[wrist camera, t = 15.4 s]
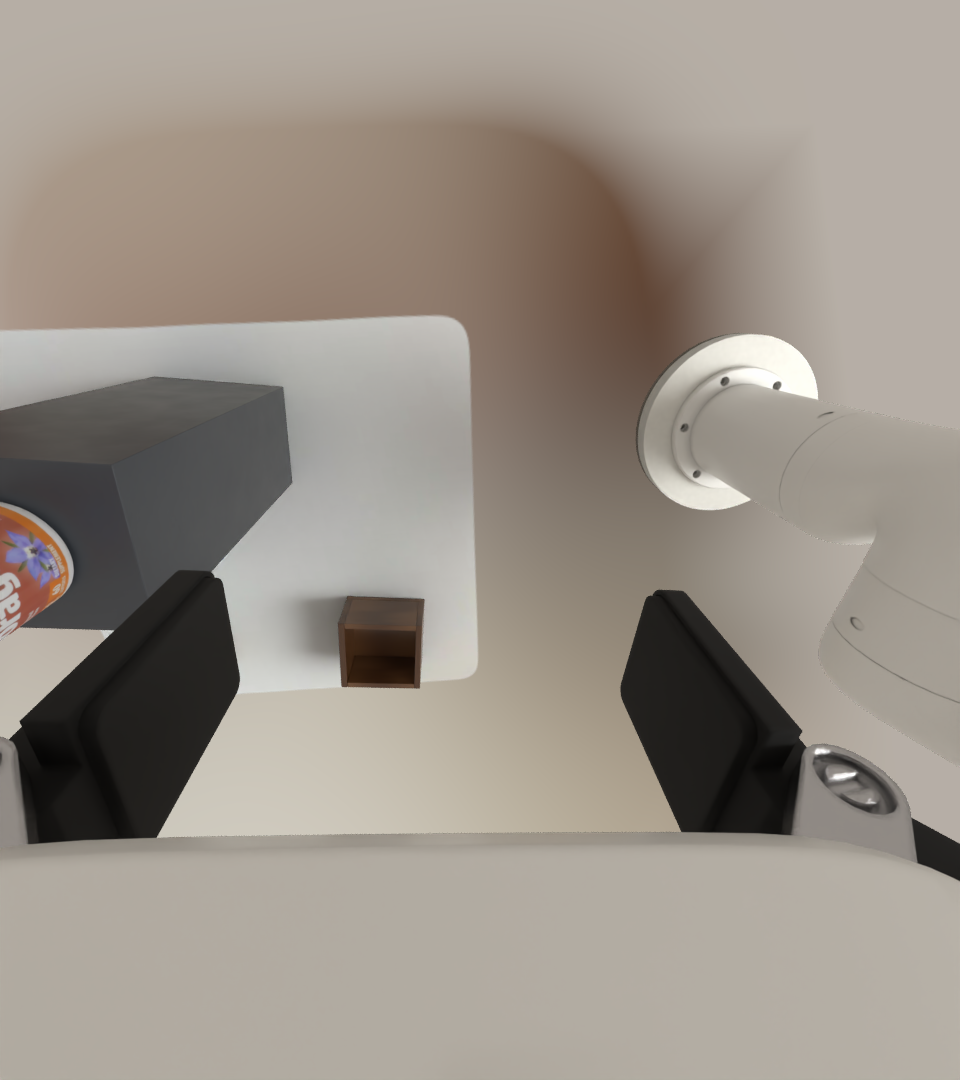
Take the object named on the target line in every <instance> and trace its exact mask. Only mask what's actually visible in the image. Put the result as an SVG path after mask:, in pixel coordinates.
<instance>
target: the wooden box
mask: <svg viewBox="0 0 960 1080" xmlns="http://www.w3.org/2000/svg"><path fill="white" fill-rule="evenodd" d="M423 622H424V599H404V598H378V597H352V596H348V597H347V600H346V602H345V605H344V608H343V611H342V614H341V617H340V619H339V622H338V634H339V651H340V668H341V685H342V687H347V686H348V687H371V688H420V679H421V665H422V647H423Z"/></svg>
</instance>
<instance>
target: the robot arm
mask: <svg viewBox="0 0 960 1080" xmlns="http://www.w3.org/2000/svg"><path fill="white" fill-rule="evenodd" d="M721 379H722V381H721ZM682 425H683V426H682ZM681 426H682V428H681ZM671 445H672V453H673V456H674V460H675V462H676V464H677V466H678V467H679V469H680V470H681V471H682V472H683V474H684V475H685V476H686V477H688V478H689V479H690V480H692V481H693V482H695V483H697V484H699V485H701V486H704V487H708V488H714V489H725V488H734V489H735V490H737V491H738V492H740V493H742V494H743V495H745V496H747V497H748V498H750V499H751V500H753V501H755V502H757V503H758V504H760V505H761V506H763V507H765V508H766V509H768V510H769V511H771V512H773V513H774V514H776V515H777V516H779V517H781V518H782V519H784V520H785V521H787V522H789V523H790V524H792V525H794V526H795V527H797V528H799V529H800V530H802V531H804V532H805V533H807V534H809V535H811V536H813V537H815V538H818V539H821V540H824V541H827V542H832V543H839V544H871V543H872V545H871V547H870V549H869V551H868V553H867V554H866V556H865V558H864V560H863V564H862V565H861V567H860V569H859V570H858V572H857V574H856V576H855V577H854V579H853V581H852V582H851V584H850V586H849V587H848V589H847V591H846V593H845V595H844V596H843V598H842V599H841V601H840V603H839V605H838V606H837V608H836V610H835V611H834V613H833V616H832V617H831V619H830V621H829V623H828V624H827V627H826V628H825V630H824V633H823V635H822V637H821V640H820V644H819V650H818V656H819V661H820V665H821V667H822V669H823V671H824V673H825V674H826V676H827V677H828V678H829V679H830V681H831V682H832V683H833V684H834V685H835V686H836V687H837V688H838V689H839V690H840V691H841V692H842V693H843V694H844V695H846V696H847V697H848V698H849V699H851V700H852V701H853V702H855V703H856V704H857V705H859V706H860V707H862V708H863V709H864V710H866V711H867V712H869V713H870V714H872V715H873V716H875V717H876V718H878V719H880V720H881V721H883V722H884V723H886V724H888V725H889V726H891V727H893V728H894V729H896V730H897V731H899V732H901V733H902V734H904V735H906V736H907V737H909V738H911V739H912V740H914V741H916V742H917V743H919V744H921V745H922V746H924V747H926V748H927V749H929V750H931V751H932V752H934V753H936V754H937V755H940V756H941V757H943V758H944V759H946V760H948V761H949V762H951V763H953V764H955V765H956V766H958V767H959V768H960V429H954V428H946V427H941V426H935V425H930V424H925V423H920V422H914V421H909V420H904V419H900V418H895V417H891V416H887V415H882V414H878V413H872V412H868V411H864V410H860V409H856V408H851V407H847V406H843V405H839V404H834V403H830V402H826V401H822V400H818V399H813V398H809V397H805V396H801V395H796V394H792V392H791V389H790V388H789V386H788V385H787V384H786V382H785V381H784V380H783V379H782V378H781V377H779V376H778V375H777V374H775V373H773V372H771V371H769V370H767V369H763V368H758V367H749V366H742V367H734V368H730V369H727V370H724V371H721V372H719V373H717V374H715V375H713V376H711V377H710V378H708V379H707V380H705V381H704V382H703V383H701V384H700V385H699V386H698V387H697V388H696V389H695V390H694V391H693V392H692V393H691V394H690V395H689V396H688V398H687V399H686V401H685V402H684V403H683V405H682V406H681V408H680V410H679V412H678V414H677V416H676V419H675V422H674V426H673V430H672V437H671ZM694 471H695V472H694ZM693 472H694V473H693ZM239 683H240V675H239V669H238V664H237V658H236V653H235V647H234V642H233V636H232V631H231V625H230V620H229V614H228V609H227V603H226V598H225V593H224V587H223V583H222V581H221V579H219V578H214V575H213V574H212V572H210V571H198V570H178V571H177V572H175V573H174V574H173V575H172V576H171V577H170V578H169V579H168V580H167V581H166V582H165V583H164V584H163V585H162V586H161V587H160V588H159V589H158V590H156V591H155V592H154V593H153V594H152V595H151V596H150V597H149V598H148V599H147V600H146V601H145V602H144V603H143V604H142V605H141V606H140V607H139V608H138V609H137V610H136V611H134V612H133V613H132V614H131V615H130V616H129V617H128V618H127V619H126V620H125V621H124V622H123V623H122V624H121V625H120V626H119V627H118V628H117V629H116V630H115V631H114V632H113V633H111V634H110V635H109V636H108V637H107V638H106V639H105V640H104V641H103V642H102V643H101V644H100V645H99V646H98V647H97V648H96V649H95V650H94V651H93V652H92V653H91V654H90V655H88V656H87V657H86V658H85V659H84V660H83V661H82V662H81V663H80V664H79V665H78V666H77V667H76V668H75V669H74V670H73V671H72V672H71V673H70V674H69V675H68V676H67V677H65V678H64V679H63V680H62V681H61V682H60V683H59V684H58V685H57V686H56V687H55V688H54V689H53V690H52V691H51V692H50V693H49V694H48V695H47V696H46V697H45V698H44V699H43V700H41V701H40V702H39V703H38V704H37V705H36V706H35V707H34V708H33V709H32V710H31V711H30V712H29V713H28V714H27V715H26V716H25V717H24V718H23V719H22V720H20V724H21V725H22V727H21V728H20V729H19V730H18V731H17V732H16V733H15V734H14V735H13V736H12V737H11V738H10V739H9V740H8V739H6V738H4V737H0V1080H960V844H959V843H957V842H955V841H954V840H952V839H950V838H948V837H946V836H944V835H942V834H940V833H939V832H937V831H935V830H933V829H931V828H929V827H928V826H926V825H924V824H922V823H920V822H918V821H917V820H915V819H913V818H911V812H910V807H909V804H908V802H907V799H906V797H905V795H904V793H903V792H902V791H901V789H900V788H899V786H898V785H897V784H896V783H895V782H894V781H893V780H892V779H891V778H890V777H889V776H888V775H887V774H886V773H885V772H884V771H882V770H881V769H880V768H878V767H877V766H876V765H874V764H873V763H871V762H870V761H868V760H867V759H865V758H863V757H861V756H859V755H857V754H856V753H854V752H851V751H849V750H846V749H844V748H841V747H838V746H834V745H828V744H814V745H811V746H809V747H806V746H805V745H804V744H803V742H802V741H801V740H800V739H799V736H800V734H801V733H802V730H801V729H800V728H799V726H798V725H797V724H796V723H795V722H794V721H793V719H792V718H791V717H790V716H789V715H788V713H787V712H786V711H785V710H784V709H783V708H782V707H781V705H780V704H779V703H778V702H777V700H776V699H775V698H774V697H773V696H772V695H771V693H770V692H769V691H768V690H767V689H766V687H765V686H764V685H763V684H762V683H761V682H760V680H759V679H758V678H757V677H756V676H755V674H754V673H753V672H752V671H751V670H750V669H749V667H748V666H747V665H746V664H745V663H744V661H743V660H742V659H741V658H740V657H739V656H738V654H737V653H736V652H735V651H734V650H733V648H732V647H731V646H730V645H729V644H728V643H727V641H726V640H725V639H724V638H723V637H722V635H721V634H720V633H719V632H718V631H717V630H716V628H715V627H714V626H713V625H712V624H711V622H710V621H709V620H708V619H707V618H706V616H704V614H703V613H702V612H701V611H700V609H699V608H698V607H697V606H696V605H695V604H694V602H693V601H692V600H691V599H690V598H689V597H688V595H687V594H686V593H684V592H683V591H675V590H657V591H655V592H654V594H653V596H648V597H647V598H646V600H645V603H644V606H643V610H642V613H641V617H640V620H639V624H638V627H637V631H636V634H635V637H634V641H633V645H632V648H631V651H630V655H629V659H628V662H627V665H626V669H625V672H624V675H623V680H622V682H621V697H622V700H623V703H624V705H625V707H626V709H627V712H628V714H629V716H630V718H631V720H632V723H633V725H634V727H635V730H636V732H637V734H638V736H639V738H640V741H641V743H642V745H643V747H644V750H645V752H646V754H647V756H648V758H649V761H650V763H651V765H652V767H653V769H654V772H655V774H656V776H657V779H658V780H659V783H660V785H661V787H662V790H663V792H664V794H665V796H666V799H667V801H668V803H669V805H670V807H671V809H672V812H673V814H674V816H675V819H676V820H677V823H678V825H679V828H680V830H681V832H600V833H599V832H598V833H597V832H591V833H589V832H583V833H581V832H580V833H579V832H577V833H576V832H573V833H572V832H569V833H567V832H566V833H433V834H343V835H279V836H278V835H277V836H217V837H216V836H212V837H169V838H157V836H158V834H159V832H160V830H161V829H162V827H163V825H164V823H165V821H166V820H167V818H168V816H169V814H170V812H171V811H172V809H173V807H174V805H175V803H176V801H177V800H178V798H179V796H180V794H181V792H182V791H183V789H184V787H185V785H186V783H187V782H188V780H189V778H190V776H191V774H192V773H193V771H194V769H195V767H196V765H197V764H198V762H199V760H200V758H201V756H202V755H203V753H204V751H205V749H206V747H207V746H208V744H209V742H210V740H211V738H212V737H213V735H214V733H215V731H216V729H217V728H218V726H219V724H220V722H221V720H222V718H223V717H224V715H225V713H226V711H227V709H228V708H229V706H230V704H231V702H232V700H233V699H234V697H235V695H236V693H237V691H238V688H239Z"/></svg>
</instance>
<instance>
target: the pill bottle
mask: <svg viewBox="0 0 960 1080" xmlns="http://www.w3.org/2000/svg"><path fill="white" fill-rule="evenodd" d="M73 574H74V567H73V560H72V557H71V554H70V552H69V550H68V548H67V546H66V545H65V543H64V542H63V540H62V539H61V538H60V536H59V535H58V534H57V533H56V532H55V531H54V530H53V529H52V528H51V527H50V526H49V525H48V524H47V523H45V522H44V521H43V520H41V519H40V518H39V517H37V516H36V515H34V514H32V513H31V512H29V511H27V510H24V509H22V508H20V507H17V506H14V505H11V504H7V503H3V502H0V641H1V640H2V639H4V638H5V637H7V636H8V635H9V634H11V633H12V632H14V631H15V630H16V629H18V628H19V627H20V626H22V625H23V624H25V623H26V622H27V621H29V620H30V619H31V618H33V617H34V616H36V615H37V614H38V613H40V612H41V611H43V610H44V609H45V608H47V607H48V606H50V605H51V604H52V603H54V602H55V601H56V600H58V599H59V598H60V597H61V596H62V595H63V594H64V593H65V592H66V591H67V590H68V588H69V587H70V585H71V583H72V580H73Z"/></svg>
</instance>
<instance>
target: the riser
mask: <svg viewBox="0 0 960 1080" xmlns="http://www.w3.org/2000/svg"><path fill="white" fill-rule="evenodd" d="M291 483H292V476H291V465H290V455H289V445H288V434H287V424H286V413H285V403H284V392H283V387H279V386H266V385H253V384H241V383H228V382H215V381H203V380H190V379H177V378H165V377H151V378H147V379H142V380H138V381H133V382H128V383H124V384H119V385H115V386H110V387H106V388H101V389H97V390H92V391H88V392H83V393H79V394H74V395H70V396H65V397H61V398H56V399H52V400H47V401H42V402H38V403H33V404H29V405H24V406H20V407H15V408H11V409H6V410H2V411H0V502H3V503H7V504H11V505H14V506H17V507H20V508H22V509H24V510H27V511H29V512H31V513H32V514H34V515H36V516H37V517H39V518H40V519H41V520H43V521H44V522H45V523H47V524H48V525H49V526H50V527H51V528H52V529H53V530H54V531H55V532H56V533H57V534H58V535H59V536H60V538H61V539H62V540H63V542H64V543H65V545H66V546H67V548H68V550H69V552H70V554H71V557H72V560H73V567H74V574H73V580H72V583H71V585H70V587H69V588H68V590H67V591H66V592H65V593H64V594H63V595H62V596H61V597H60V598H59V599H58V600H56V601H55V602H54V603H52V604H51V605H50V606H48V607H47V608H45V609H44V610H43V611H41V612H40V613H38V614H37V615H36V616H34V617H33V618H31V619H30V620H29V621H27V622H26V623H25V624H23V625H22V626H20V627H25V628H26V627H27V628H57V629H58V628H59V629H91V630H92V629H93V630H116V629H117V628H118V627H119V626H120V625H121V624H122V623H123V622H124V621H125V620H126V619H127V618H128V617H129V616H130V615H131V614H132V613H133V612H134V611H136V610H137V609H138V608H139V607H140V606H141V605H142V604H143V603H144V602H145V601H146V600H147V599H148V598H149V597H150V596H151V595H152V594H153V593H154V592H155V591H156V590H158V589H159V588H160V587H161V586H162V585H163V584H164V583H165V582H166V581H167V580H168V579H169V578H170V577H171V576H172V575H173V574H174V573H175V572H177V571H178V570H198V571H210V572H211V571H212V570H213V569H214V568H215V567H216V566H217V565H218V564H219V562H220V561H221V560H222V559H223V558H224V557H225V556H226V555H227V554H228V553H229V552H230V550H231V549H232V548H233V547H234V546H235V545H236V544H237V543H238V542H239V541H240V539H241V538H242V537H243V536H244V535H245V534H246V533H247V532H248V531H249V530H250V528H251V527H252V526H253V525H254V524H255V523H256V522H257V521H258V520H259V519H260V517H261V516H262V515H263V514H264V513H265V512H266V511H267V510H268V509H269V508H270V507H271V505H272V504H273V503H274V502H275V501H276V500H277V499H278V498H279V497H280V496H281V494H282V493H283V492H284V491H285V490H286V489H287V488H288V487H289V486H290V485H291Z"/></svg>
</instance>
